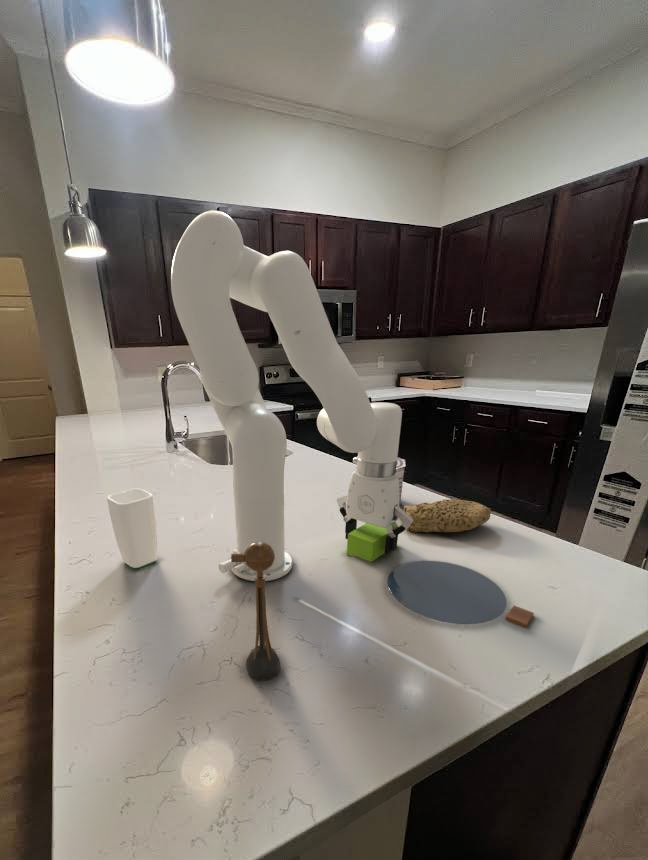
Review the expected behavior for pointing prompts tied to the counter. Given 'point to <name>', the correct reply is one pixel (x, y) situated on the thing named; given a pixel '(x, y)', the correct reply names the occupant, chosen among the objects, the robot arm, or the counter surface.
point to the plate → (446, 592)
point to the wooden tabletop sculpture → (260, 612)
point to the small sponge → (367, 542)
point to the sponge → (447, 516)
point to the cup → (134, 526)
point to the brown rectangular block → (519, 616)
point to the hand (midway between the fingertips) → (369, 544)
